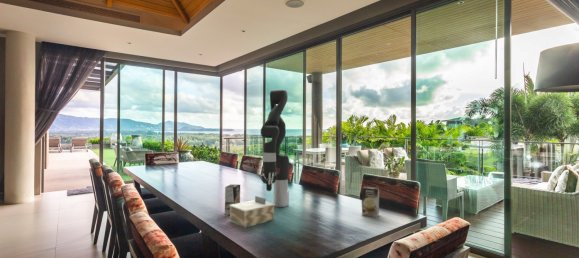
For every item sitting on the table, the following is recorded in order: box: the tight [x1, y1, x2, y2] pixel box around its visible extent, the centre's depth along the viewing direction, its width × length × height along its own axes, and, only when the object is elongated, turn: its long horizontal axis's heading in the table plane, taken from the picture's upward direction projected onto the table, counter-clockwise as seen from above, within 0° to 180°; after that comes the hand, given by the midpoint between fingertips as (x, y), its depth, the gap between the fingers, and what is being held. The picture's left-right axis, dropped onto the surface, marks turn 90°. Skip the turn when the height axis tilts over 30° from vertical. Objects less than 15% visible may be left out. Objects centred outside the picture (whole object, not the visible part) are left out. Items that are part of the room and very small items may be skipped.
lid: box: [229, 195, 275, 212], centre depth 161 cm, size 20×15×4 cm
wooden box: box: [229, 205, 275, 228], centre depth 161 cm, size 19×14×8 cm
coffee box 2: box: [361, 185, 380, 218], centre depth 173 cm, size 9×6×16 cm
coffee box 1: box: [224, 184, 241, 215], centre depth 175 cm, size 9×6×16 cm
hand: (268, 190), depth 169 cm, fingers closed
